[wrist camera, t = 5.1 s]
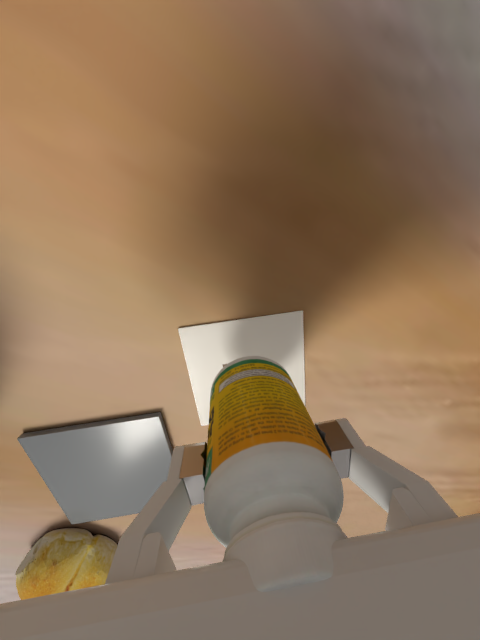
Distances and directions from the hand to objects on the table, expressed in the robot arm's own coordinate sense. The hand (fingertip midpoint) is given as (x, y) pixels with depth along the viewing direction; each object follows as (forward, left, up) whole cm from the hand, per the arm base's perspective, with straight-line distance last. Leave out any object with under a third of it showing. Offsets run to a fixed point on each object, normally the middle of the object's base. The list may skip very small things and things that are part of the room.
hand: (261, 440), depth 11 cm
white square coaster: (+1, 0, -7) cm, 7 cm away
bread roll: (+19, -20, -7) cm, 29 cm away
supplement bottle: (0, 0, -4) cm, 4 cm away
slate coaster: (+9, -13, -7) cm, 17 cm away
